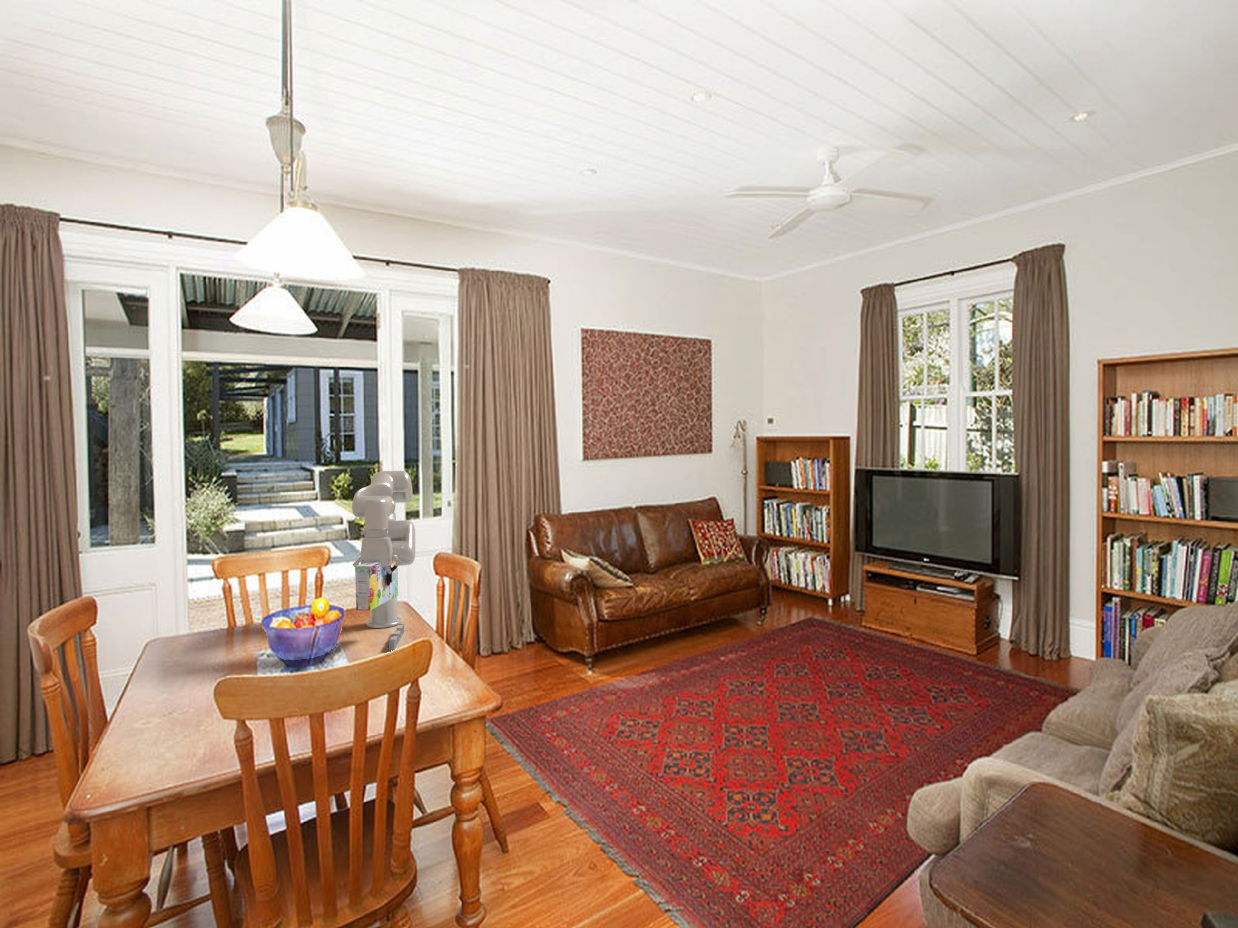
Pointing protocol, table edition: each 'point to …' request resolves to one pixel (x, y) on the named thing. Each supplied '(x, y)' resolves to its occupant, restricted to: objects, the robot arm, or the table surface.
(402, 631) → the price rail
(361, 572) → the snack box
